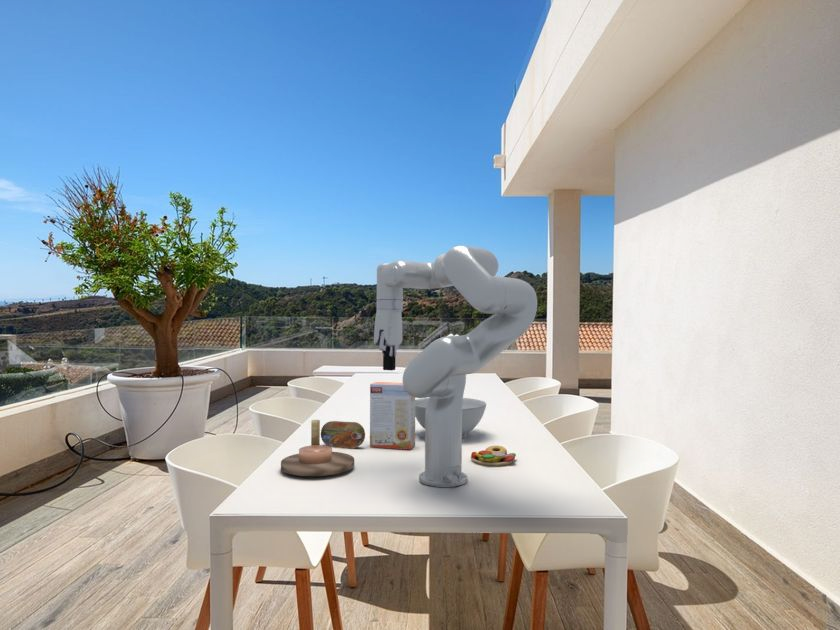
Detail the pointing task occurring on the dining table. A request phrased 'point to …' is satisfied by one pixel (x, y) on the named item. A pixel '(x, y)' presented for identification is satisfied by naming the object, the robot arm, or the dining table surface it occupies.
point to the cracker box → (391, 416)
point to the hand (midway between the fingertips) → (389, 369)
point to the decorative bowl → (470, 413)
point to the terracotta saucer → (315, 454)
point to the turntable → (335, 466)
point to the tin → (342, 434)
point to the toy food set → (493, 456)
